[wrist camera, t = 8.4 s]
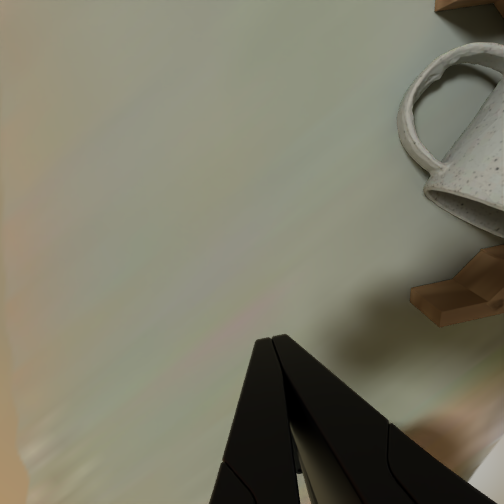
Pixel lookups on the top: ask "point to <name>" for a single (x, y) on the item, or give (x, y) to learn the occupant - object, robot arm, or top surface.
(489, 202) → the ceramic mug
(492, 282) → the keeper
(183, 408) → the top surface
